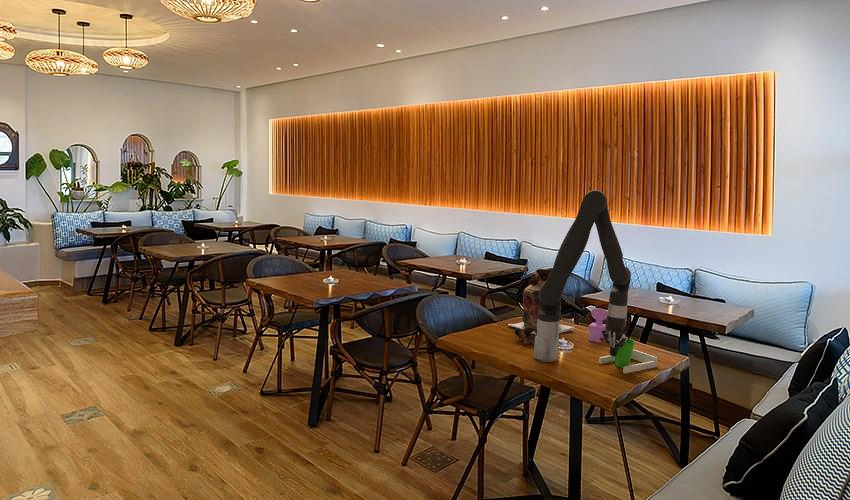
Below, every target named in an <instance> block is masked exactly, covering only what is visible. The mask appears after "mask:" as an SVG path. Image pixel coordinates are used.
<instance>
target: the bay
mask: <svg viewBox="0 0 850 500" xmlns="http://www.w3.org/2000/svg"><path fill="white" fill-rule="evenodd" d="M630 359H632V360H635V361H638V362H640V363H635V364H629V366H625V367H623V368H622V369H623V370H622V373H623V374H628V373H635V372H638V371H643V370H648V369H653V368H657V367H658V360H659V359H658V357H657V356H655V355H652V354H649V353H645V352H642V351H640V350H637V349H634V348H633V351H632V355H631V358H630ZM612 362H615V357H613V356H610V354H609V355H605V356H599V357H598V364H600V365H601V364H607V363H612Z"/></svg>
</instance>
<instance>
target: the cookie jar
mask: <svg viewBox="0 0 850 500" xmlns="http://www.w3.org/2000/svg"><path fill="white" fill-rule="evenodd" d="M552 269H553V267H549V268H537V269H536V270H535V271H533V272H531V273H530V280H532V281H533V282H532V283H531V284H530V285H528V286H527V287H526V288H524V290H523V293H524V294H523V297H522V306H523V307H522V308H523V309H522V321H521V322H517V323H508V327H512V328H515V329H516V328H520V329H524V328H525V327H533V328H535V329H536V330H537V324H538V308H539V291H540V287H541V286H542V284H544V283H545V282H546V280H547V279H548V277H549V275H550V273H551V271H552ZM561 313H562V312H561ZM561 313H560V317H561ZM574 329H575V326H570V325H565V324H561V323H560V327H559V334H561V333H566V332H574V331H573V330H574ZM531 335H533V336H535V335H536V332H535V331H534V332H532V333H531Z"/></svg>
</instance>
